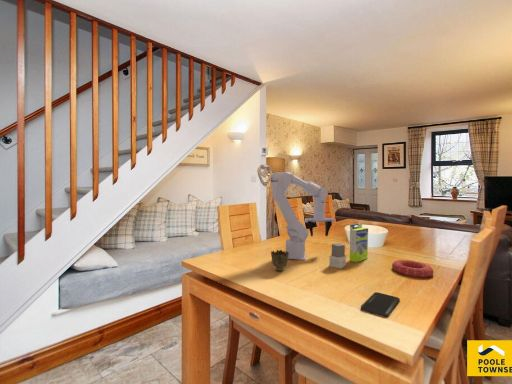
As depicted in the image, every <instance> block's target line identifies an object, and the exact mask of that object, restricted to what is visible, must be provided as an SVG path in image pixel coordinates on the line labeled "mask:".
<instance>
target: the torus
mask: <svg viewBox="0 0 512 384" xmlns="http://www.w3.org/2000/svg"><path fill="white" fill-rule="evenodd" d="M391 268H392V270H394V271H395V272H397V273H398V274H400V273H401V275H403V274H404V275H403V276H408V277H412V278H423V279H424V278H431V277H432V276H433V275H434V269H433V268H432V266H430V265H428V264H426V263H424V262H419V261H415V260H408V259H398V260H395V261H393V262H392V263H391Z"/></svg>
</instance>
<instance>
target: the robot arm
mask: <svg viewBox="0 0 512 384" xmlns="http://www.w3.org/2000/svg"><path fill="white" fill-rule="evenodd" d="M269 182H270V184H271V185H270V186H271V194H272V198H273V199H274V201H275V202H276V205H277V206H278V208H279V211H280V213H281V214H282V216H283V218H284V221H285V222H286V227H285V228H286V231H287V232H286V233H287V235H288V237H289V238H288V239H285V252H286V251H287V252H289V254H288V260H289V259H290V260H301V261H305V260H306V258H307V254H306V246H305V245H306V241H307V238H308V237H309V233H310V237H313V236H314V230H313V229H314V223H325V225H324V226H325V229H324V230H325V231H324V232H325V233H324V236H325V237H328V236H329V233H330V229H331V227H332V226H333V223H334V221H335V219H334V217H326V201H327V197H328V195H329V192H328V190H327V189H326V187H323V186H320V185H319V184H316V183H314V182H313V180H307V181H305V180H304V179H302V178H300V177H298V176H296V175H295V174H293V173H292V172H290V171H283V172H281V171H280V172H278V171H276V172H273V173H272V174H271V176H270V179H269ZM291 184H292V185H295V186H298V187H300V188H302V191H304V192H305V193H307V194H309V195H311V197H313V217H305V218H304V223H306V224H307V226H308V229H309V230H308V229H307V228H306V227H305V225H304V224H303V223H302V222H300V221H299V220H298V216H297V215H296V213H295V212H294V209H293V208H292V205H291V204H290V201H289V200H288V197H287V196H286V192H287V190H288V189H289V187H290V186H291Z"/></svg>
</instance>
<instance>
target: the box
mask: <svg viewBox="0 0 512 384" xmlns="http://www.w3.org/2000/svg"><path fill="white" fill-rule="evenodd" d="M368 247H369V228H368V227H364V226H363V223H362V222H358V223H353V224H349V262H352V263H358V262H361V261H364V260H367V259H368V250H369V249H368Z"/></svg>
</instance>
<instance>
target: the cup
mask: <svg viewBox="0 0 512 384" xmlns="http://www.w3.org/2000/svg"><path fill="white" fill-rule="evenodd" d="M270 254H271V263H272V265H273V266H274V267H275V271H277V272H283V271H285V267H287V264H288V261H289V259H288V254H289V252H287V251H286V250H282V249H280V250H278V249H276V251H274V250H273V251H271V252H270Z"/></svg>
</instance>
